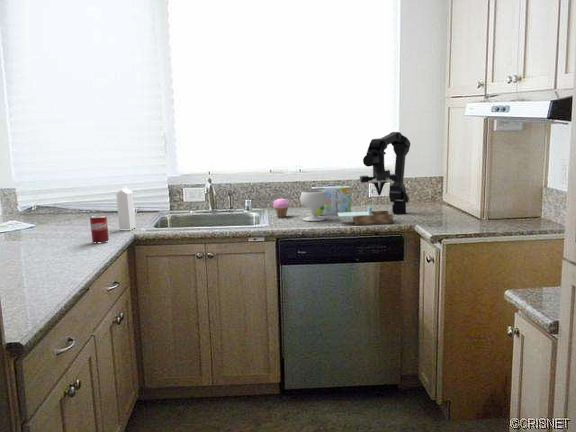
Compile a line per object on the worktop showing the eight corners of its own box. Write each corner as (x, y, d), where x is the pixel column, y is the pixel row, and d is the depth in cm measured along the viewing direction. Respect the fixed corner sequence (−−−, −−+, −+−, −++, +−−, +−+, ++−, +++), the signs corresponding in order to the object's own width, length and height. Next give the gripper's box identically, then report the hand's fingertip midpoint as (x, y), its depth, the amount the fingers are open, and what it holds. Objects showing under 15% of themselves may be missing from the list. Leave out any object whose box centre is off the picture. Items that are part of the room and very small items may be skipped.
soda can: (94, 241, 273) (92, 215, 271) (110, 240, 274) (108, 214, 272) (90, 244, 266) (88, 218, 264) (107, 243, 267) (104, 217, 265)
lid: (370, 212, 297) (370, 204, 296) (373, 216, 287) (373, 208, 286) (337, 213, 296) (337, 206, 296) (339, 217, 286) (339, 209, 286)
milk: (119, 230, 296) (115, 187, 293) (125, 228, 302) (121, 185, 298) (130, 230, 295) (126, 187, 291) (136, 228, 301) (132, 185, 297)
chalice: (317, 216, 315) (316, 188, 313) (333, 219, 304) (332, 190, 301) (295, 219, 308) (294, 191, 305) (311, 223, 296) (310, 193, 294)
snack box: (350, 213, 322) (350, 185, 320) (350, 214, 317) (350, 186, 314) (312, 213, 325) (311, 186, 322) (311, 215, 319) (310, 187, 317)
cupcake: (289, 217, 314) (288, 199, 312) (273, 218, 314) (272, 199, 313) (289, 215, 323) (289, 197, 321) (274, 215, 323) (273, 197, 321)
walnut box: (388, 219, 298) (388, 210, 297) (392, 223, 286) (392, 214, 286) (352, 220, 298) (352, 212, 297) (355, 225, 286) (355, 216, 286)
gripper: (362, 167, 285) (363, 198, 288) (400, 164, 285) (401, 196, 288) (358, 164, 296) (359, 195, 299) (395, 162, 296) (396, 193, 299)
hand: (379, 195), depth 296 cm, fingers closed
